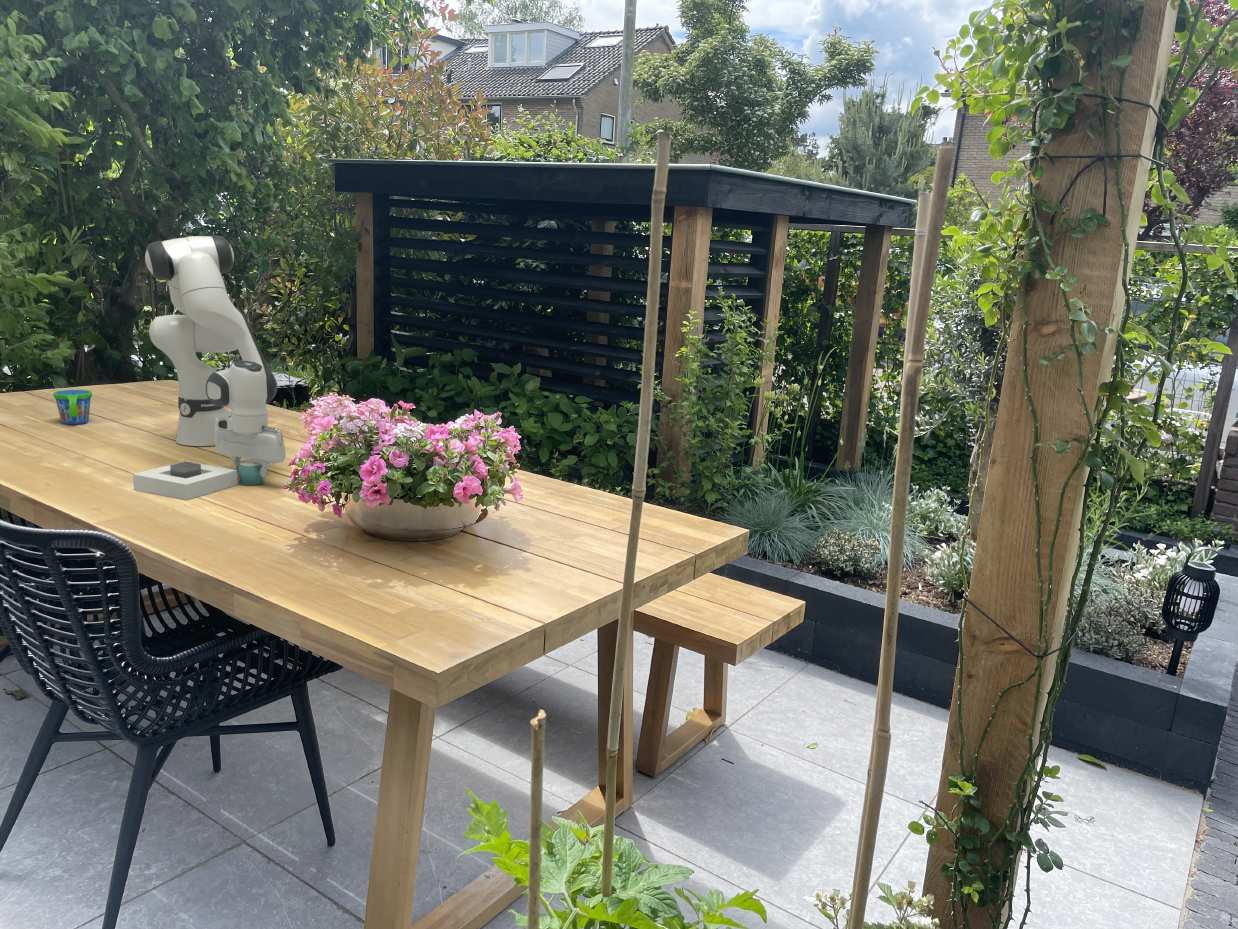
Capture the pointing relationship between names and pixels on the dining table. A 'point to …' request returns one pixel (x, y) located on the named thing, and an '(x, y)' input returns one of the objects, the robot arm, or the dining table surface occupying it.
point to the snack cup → (73, 405)
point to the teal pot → (250, 472)
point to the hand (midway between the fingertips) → (251, 474)
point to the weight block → (185, 469)
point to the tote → (185, 482)
